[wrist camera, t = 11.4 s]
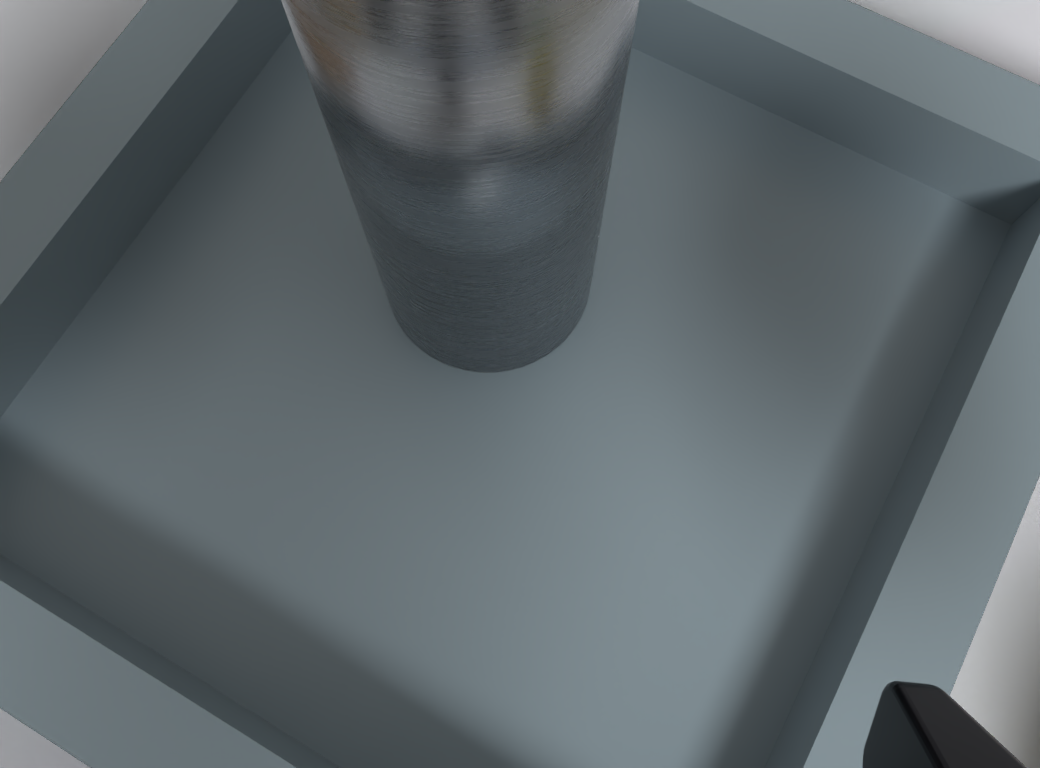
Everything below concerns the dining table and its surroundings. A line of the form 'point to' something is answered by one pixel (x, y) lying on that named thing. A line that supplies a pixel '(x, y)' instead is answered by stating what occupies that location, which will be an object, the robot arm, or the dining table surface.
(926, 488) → the slate tray
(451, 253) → the steel pin
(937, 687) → the robot arm
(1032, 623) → the dining table surface
